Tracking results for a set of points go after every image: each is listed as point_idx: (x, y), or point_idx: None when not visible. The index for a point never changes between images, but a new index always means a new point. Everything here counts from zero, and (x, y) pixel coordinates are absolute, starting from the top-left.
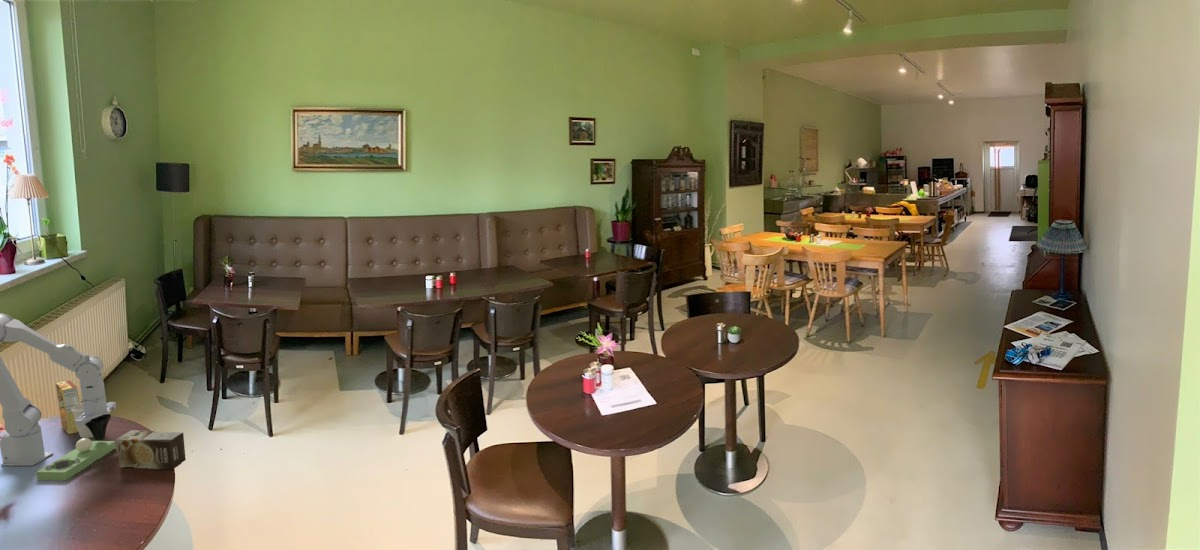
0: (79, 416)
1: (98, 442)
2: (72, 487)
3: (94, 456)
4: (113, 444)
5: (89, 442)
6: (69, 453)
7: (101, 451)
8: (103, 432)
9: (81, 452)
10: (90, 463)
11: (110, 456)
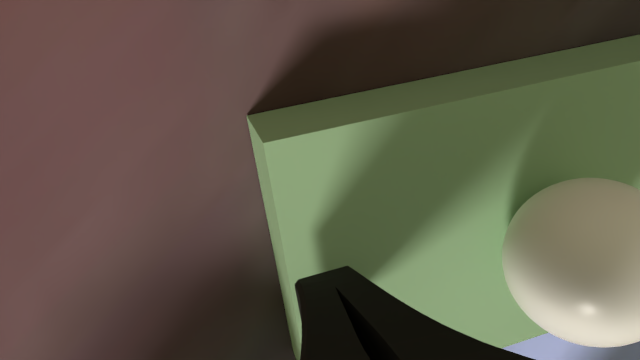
0: None
1: None
2: None
3: (580, 63)
4: (288, 128)
5: (632, 206)
6: None
7: (488, 85)
8: (347, 319)
9: None
10: (599, 47)
11: (419, 8)
